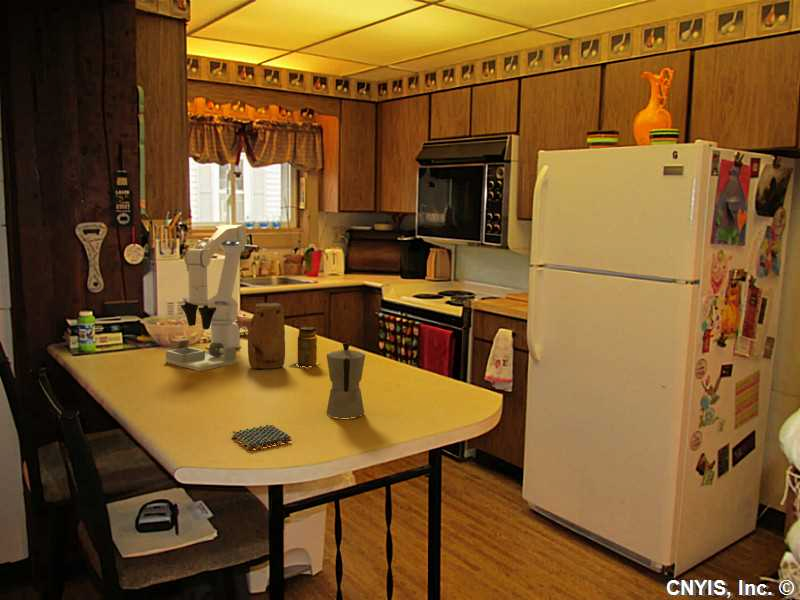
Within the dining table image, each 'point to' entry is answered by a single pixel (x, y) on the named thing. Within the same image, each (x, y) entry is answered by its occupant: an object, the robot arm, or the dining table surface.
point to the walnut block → (178, 343)
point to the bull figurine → (243, 321)
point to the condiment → (306, 347)
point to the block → (267, 337)
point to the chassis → (201, 358)
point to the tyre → (213, 349)
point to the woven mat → (261, 437)
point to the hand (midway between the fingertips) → (199, 327)
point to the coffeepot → (345, 383)
